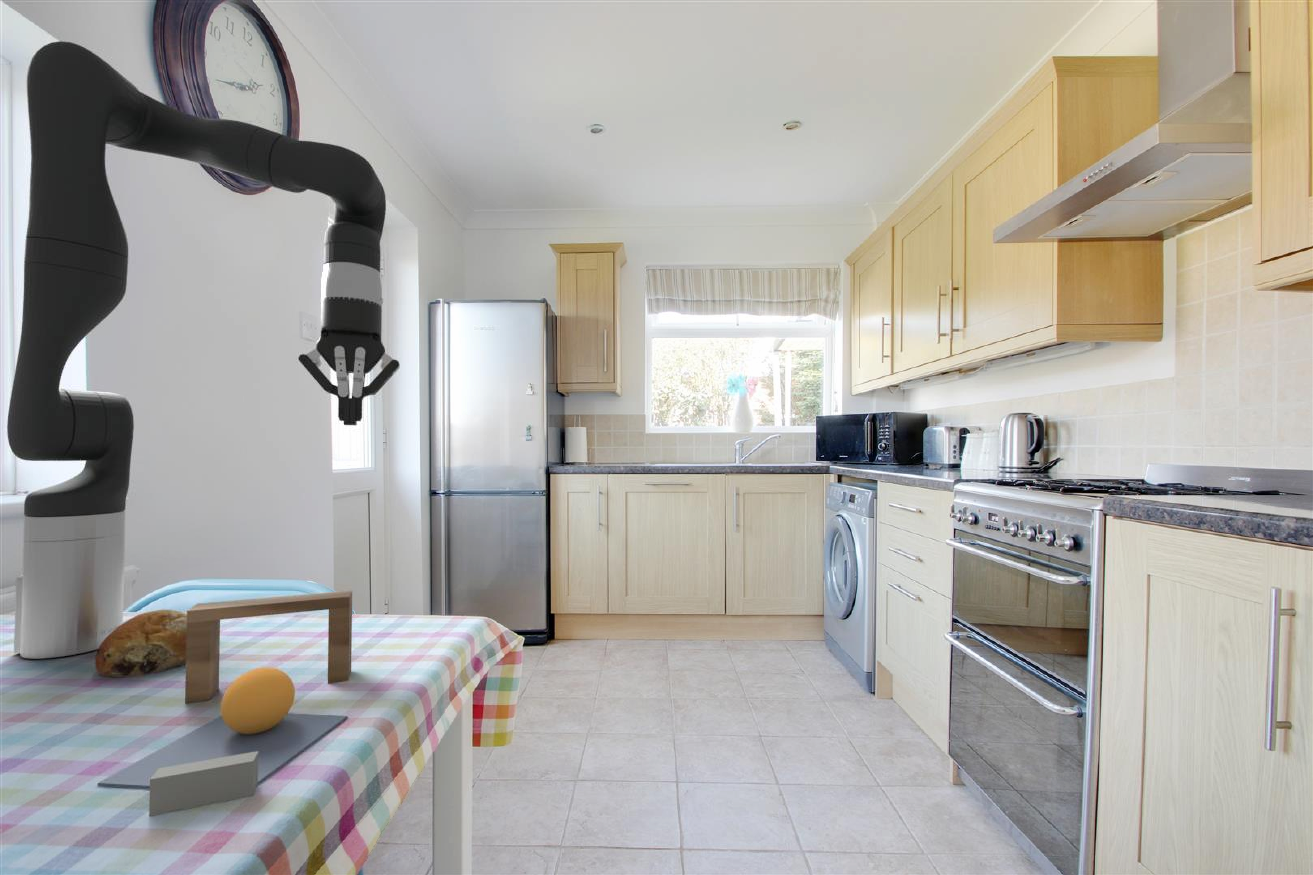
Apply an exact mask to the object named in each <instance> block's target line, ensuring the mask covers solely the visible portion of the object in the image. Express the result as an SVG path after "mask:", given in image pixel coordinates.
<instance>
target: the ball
mask: <svg viewBox="0 0 1313 875" xmlns="http://www.w3.org/2000/svg"><path fill="white" fill-rule="evenodd" d="M295 691H296V689H295V685H294V682H293V680H292V678H291V677H290V676H289V675H288V674H287V673H286V672H284V671H283V670H281V669H278V668H275V667H267V666H265V667H257V668H253V669H251V670H248V671H246V672H244V673H243V674H241V675H239V676H238V677H237V678H235V680H234V681H233V682H231V684H230V685H229V686H228V687H227V689H226V691H225V693H224V694H223V697H222V699H221V703H220V714H221V715H222V718H223V720H224V722H225V724H226V725H227V726H228V727H229V728H230V729H232V730H233V731H236V732H238V733H242V734H257V733H261V732H264V731H266V730H269V729H270V728H272V727H274V726H275V725H277V724H278V723H279V722H280V721H282V720H283V719H284V717H285V716H286V715H287V714H288V713H289V712H290V711H291V709H292V707H293V704H294V701H295V695H296V692H295ZM221 715H220V716H221Z"/></svg>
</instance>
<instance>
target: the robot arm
mask: <svg viewBox="0 0 1313 875" xmlns="http://www.w3.org/2000/svg"><path fill="white" fill-rule="evenodd" d="M26 100H27V112H28V113H27V115H28V116H27V117H28V123H29V138H30V141H29V142H30V172H29V173H30V176H29V202H28V204H29V205H28V216H27V217H28V219H27V227H26V235H25V246H24V257H23V258H24V259H23V260H24V262H23V263H24V264H23V297H22V298H23V300H22V315H21V316H22V320H21V321H22V322H21V332H20V341H19V347H18V353H17V360H16V366H15V369H14V370H15V371H14V376H13V381H12V389H11V393H10V398H9V399H10V400H9V406H8V415H7V423H6V430H7V432H6V434H7V435H6V436H7V440H8V445H9V448H10V449H11V452H12V453H13V454H14V455H15V457H17V458H19V459H20V460H24V461H27V462H28V461H29V462H52V461H53V462H74V461H76V462H77V461H78V462H79V461H80V462H82V461H85V464H84V467H83V469H82V471H80V473H78V474H77V475H75V476H73V477H71V478H69V479H67V480H65V481H63V482H60V483H58V484H55V485H52V486H48V487H44V488H40V489H38V490H34V491H32V492H30V493H28V494H27V495H26V497H25V498H24V502H23V503H24V504H23V515H24V517H23V538H22V541H23V546H22V574H21V575H19V576H17V577H16V580H15V600H14V602H15V604H14V630H13V631H14V632H13V634H14V637H13V638H14V640H13V653H14V654H20V657H22V658H23V659H51V658H52V659H53V658H59V657H65V656H66V657H67V656H72V655H77V654H78V655H79V654H82V653H84V654H85V653H87V652H88V653H89V652H92V651H96V650H98V648H99V646H100V645H101V643H102V642H103V641H104V640H105V638H106V637H107V636H108V635H109V634H110V633H111V632H113V631H114V630H115V629H116V628H117V627H119V626H120V625H121V624H123V623H124V622H123V621H124V597H125V596H124V591H125V588H124V586H125V583H124V582H125V542H126V539H125V538H126V537H125V536H126V532H125V531H126V502H127V495H128V492H129V488H130V473H131V462H132V461H131V460H132V450H133V442H134V441H133V440H134V431H135V430H134V428H135V425H134V423H135V422H134V413H133V409H132V406H131V404H130V402H129V400H128V399H127V398H126V397H125V396H123V395H122V394H120V393H114V392H107V391H96V390H95V391H94V390H83V389H81V390H80V389H69V388H60V384H61V380H62V379H61V378H62V375H63V372H64V369H65V365H66V364H67V361H68V360H69V358H70V357H71V354H72V352H73V351H74V350H75V348H77V346H78V345H79V344H80V343H81V341H82V340H83V339H85V337H86V336H88V335H89V333H91V332H92V331H93V330H94V329H95V328H96V327H98V325H100V324H101V322H103V321H104V320H105V319H106V318H107V317H108V316H110V314H111V313H113V311H114V310H115V309H116V308H117V307H118V306H119V305H120V303H121V302H122V300H123V299H124V297H125V296H126V292H127V284H128V271H129V270H128V269H129V258H130V257H129V242H128V238H127V233H126V230H125V225H124V223H123V220H122V217H121V214H120V212H119V209H118V206H117V204H116V200H115V199H114V196H113V193H112V190H111V187H110V184H109V180H108V176H107V168H106V150H107V148H106V147H107V146H109V147H110V146H111V147H114V148H119V149H125V150H129V151H130V150H131V151H135V152H143V153H147V154H154V155H160V156H165V157H171V158H175V159H179V160H184V161H187V162H188V161H189V162H192V163H197V164H200V165H204V166H208V167H211V168H214V169H218V170H221V171H224V172H227V173H230V174H233V175H236V176H240V177H242V178H245V179H248V180H251V181H254V182H257V183H261V184H263V185H267V186H269V187H273V188H275V189H279V190H282V191H286V192H289V193H295V194H296V193H297V194H300V193H304V192H306V191H307V190H309V191H313V192H317V193H320V194H323V195H325V196H327V197H330V198H331V200H332V201H333V207H334V208H333V209H334V212H333V213H334V216H333V223H332V224H331V225H329V226H328V227H327V228H326V231H325V233H324V242H323V243H324V244H323V272H322V276H321V288H320V289H321V290H320V291H321V292H320V293H321V294H320V296H321V297H320V336H319V339H318V340H317V341H316V344H315V348H314V349H312V350H310V351H309V352H308V353H306V354H305V353H302V354H300V355H299V356H298V361H299V362H300V363H301V365H302V366H303V367H304V369H306V371H307V372H308V373H309V374H310V375H311V377H313V379H314V380H315V381H316V382H317V384H318V385H319V386H320V387H321V388H322V389H323V390H324V391H325V392H326V393H328V394H331V395H333V396H336V397H337V399H338V400H337V401H338V402H337V403H338V404H337V405H338V406H337V407H338V408H337V411H338V412H337V416H338V420H339V421H341V422H343V425H344V426H357V425H358V423H357V422H361V421H362V419H363V400H364V398H366V397H370V396H375V395H376V394H377V393H378V392H379V391H380V390H381V389H382V388H383V386H384V385H385V384H386V383H387V382H388V381H389V380H390V379H391V378H392V377H393V376H394V375H395V374H396V372H398V370H399V369H400V362H399V360H397V359H394V358H392V357H391V356H390V355H389V354H388V353H386V349H385V346H384V344H383V342H382V328H383V327H382V322H383V321H382V320H383V319H382V318H383V316H382V315H383V310H382V309H383V301H384V300H383V286H382V285H383V284H382V279H381V278H382V277H381V256H382V255H381V238H382V235H383V231H384V226H385V219H386V212H387V211H386V210H387V202H386V201H387V199H386V193H385V188H384V187H383V184H382V183H381V180H380V179H379V177H378V175H377V173H376V172H375V169H374V168H373V166H372V164H371V163H370V162H369V161H368V160H367V159H366V158H364V157H363V156H362V155H361V154H359V153H357V151H356V152H355V151H353V150H351V149H349V148H346V147H344V146H340V145H337V144H332V143H325V142H318V141H312V140H299V139H295V138H293V137H290V136H288V135H285V134H282V133H278V132H276V131H273V130H270V129H267V128H264V127H261V126H259V125H254V124H251V123H248V122H244V121H241V120H240V121H239V120H233V119H227V118H226V119H225V118H212V117H211V118H209V117H203V116H197V115H194V114H190V113H186V112H183V111H181V110H178V109H177V108H174V107H171V106H170V105H167V104H165V103H162V102H161V101H159V100H157V99H155V98H152V97H151V96H149V95H148V94H145V93H143V92H141V91H140V90H139V88H138V87H136V86H135V84H133V82H131V81H130V80H128V79H127V78H126V77H124V75H122V74H121V73H120V72H118V71H117V70H116V69H115V68H114V67H112V65H111V64H109V63H108V62H106V61H105V60H104V59H103V58H102V57H100V56H99V55H97V54H96V53H95V52H92V51H91V50H90V49H88V48H86V47H84V46H82V45H80V44H76V43H74V42H72V41H71V42H70V41H62V40H61V41H54V42H53V41H52V42H50V43H47V44H45V45H43V46H42V47H40V48H39V49H38V50H37V51H36V52H35V53H34V55H33V56H32V57H31V60H30V63H29V65H28V67H27V73H26ZM320 357H322V359H323V360H324V361H325V362H326V363H327V365H328V366H329V367H330V369H331V370H332V371H334V372H335V373H336V374H335V375H336V382H337V383H336V384H337V385H334V384H333V383H332V382H331V380H329V378H328V377H326V375H325V374H324V372H323V371H322V370H321V369H320V367H321V366H322V362H321V360H320ZM380 361H382V362H381V364H380V368H381V371H380V373H378V374H377V375H376V377H375V378H374V379H373V380H372V381H371V382H370V383H369V384H368V385H365V382H366V376H367V375H366V374H369V373H370V372H371V371H372V370H373V369H374V368H375V366H376V365H377V364H379V362H380ZM350 374H353V376H352V389H351V390H352V391H350ZM350 396H351V397H350Z"/></svg>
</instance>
